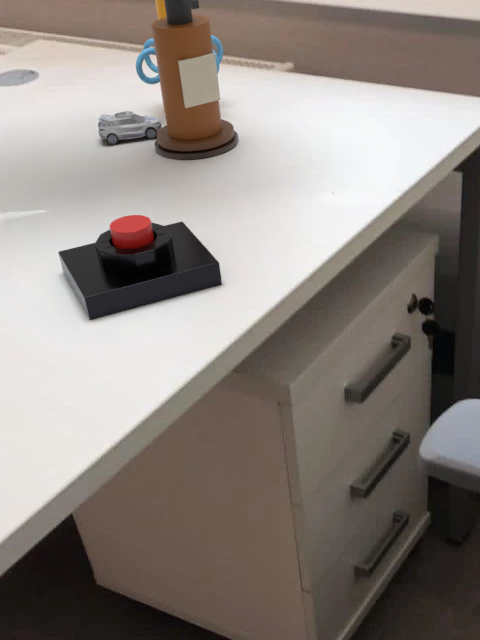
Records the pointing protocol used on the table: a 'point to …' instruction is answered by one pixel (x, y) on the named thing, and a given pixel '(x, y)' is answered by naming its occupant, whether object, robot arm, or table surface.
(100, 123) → the toy car
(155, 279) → the button block
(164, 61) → the labeled post on disc
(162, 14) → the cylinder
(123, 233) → the button
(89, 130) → the table surface
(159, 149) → the turntable base
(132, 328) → the table surface
